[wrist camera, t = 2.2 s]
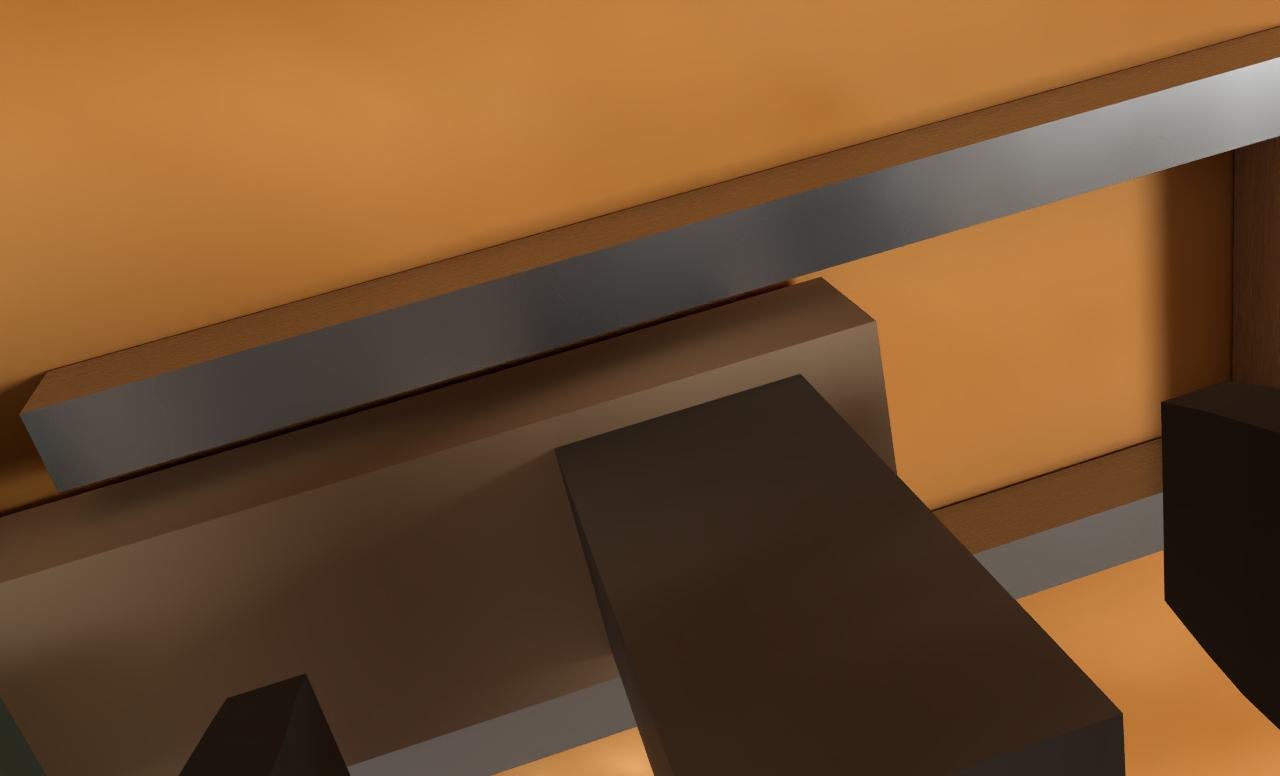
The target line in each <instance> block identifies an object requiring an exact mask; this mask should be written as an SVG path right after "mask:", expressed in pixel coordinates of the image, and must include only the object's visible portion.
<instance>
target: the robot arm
mask: <svg viewBox="0 0 1280 776" xmlns="http://www.w3.org/2000/svg"><path fill="white" fill-rule="evenodd" d="M1161 423H1162V479H1163V534H1164V589H1165V601H1166V603H1167V604H1168V605H1169V606H1170V608H1171V609H1172V610H1173V611H1174V613H1175V614H1176V615H1177V616H1178V618H1179V619H1180V620H1181V621H1182V623H1183V624H1184V625H1185V626H1186V628H1187V629H1188V630H1189V631H1190V633H1191V634H1192V635H1193V636H1194V638H1195V639H1196V640H1197V641H1198V643H1199V644H1200V645H1201V646H1202V648H1203V649H1204V650H1205V651H1206V652H1207V654H1208V655H1209V656H1210V657H1211V658H1212V659H1213V661H1214V662H1215V663H1216V664H1217V665H1218V666H1219V667H1220V669H1221V670H1222V671H1223V672H1224V673H1225V674H1226V676H1227V677H1228V678H1229V679H1230V680H1231V681H1232V682H1233V684H1234V685H1235V686H1236V687H1237V688H1238V689H1239V691H1240V692H1241V693H1242V694H1243V695H1244V696H1245V697H1246V698H1247V699H1248V700H1249V701H1250V702H1251V703H1252V704H1253V705H1254V706H1255V707H1256V708H1257V709H1258V710H1260V711H1261V712H1262V713H1263V714H1264V715H1265V716H1266V717H1267V718H1268V719H1269V720H1270V721H1271V722H1272V723H1273V724H1274V725H1275V726H1276V727H1277V728H1279V729H1280V388H1275V387H1269V386H1262V385H1255V384H1247V383H1238V382H1229V381H1226V382H1223V383H1220V384H1217V385H1214V386H1211V387H1207V388H1204V389H1201V390H1198V391H1195V392H1192V393H1189V394H1185V395H1182V396H1179V397H1176V398H1173V399H1170V400H1166V401H1163V402H1161ZM179 776H350V773H349V771H348V769H347V766H346V764H345V762H344V759H343V757H342V755H341V753H340V750H339V748H338V746H337V743H336V741H335V739H334V736H333V734H332V732H331V730H330V727H329V725H328V723H327V720H326V718H325V716H324V714H323V711H322V709H321V707H320V704H319V702H318V700H317V697H316V695H315V693H314V691H313V688H312V686H311V684H310V681H309V679H308V677H307V674H306V673H305V674H302V675H299V676H296V677H292V678H289V679H286V680H283V681H280V682H277V683H274V684H270V685H267V686H264V687H261V688H258V689H255V690H251V691H248V692H245V693H242V694H239V695H236V696H233V697H229V698H227V699H226V700H225V702H224V703H223V705H222V706H221V708H220V709H219V711H218V712H217V714H216V715H215V717H214V719H213V720H212V722H211V723H210V725H209V727H208V728H207V730H206V731H205V733H204V735H203V736H202V738H201V740H200V741H199V743H198V744H197V746H196V748H195V749H194V751H193V753H192V754H191V756H190V758H189V759H188V761H187V763H186V764H185V766H184V767H183V769H182V771H181V772H180V774H179Z"/></svg>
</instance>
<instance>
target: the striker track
mask: <svg viewBox="0 0 1280 776" xmlns="http://www.w3.org/2000/svg"><path fill="white" fill-rule="evenodd" d="M1233 149H1235V188H1234V288H1233V382H1238V383H1247V384H1255V385H1262V386H1269V387H1275V388H1280V27H1277V28H1273V29H1270V30H1266V31H1263V32H1259V33H1255V34H1252V35H1248V36H1245V37H1241V38H1238V39H1234V40H1230V41H1227V42H1223V43H1220V44H1216V45H1213V46H1209V47H1205V48H1202V49H1198V50H1195V51H1191V52H1188V53H1184V54H1180V55H1177V56H1173V57H1170V58H1166V59H1163V60H1159V61H1155V62H1152V63H1148V64H1145V65H1141V66H1138V67H1134V68H1130V69H1127V70H1123V71H1120V72H1116V73H1113V74H1109V75H1105V76H1102V77H1098V78H1095V79H1091V80H1088V81H1084V82H1080V83H1077V84H1073V85H1070V86H1066V87H1063V88H1059V89H1055V90H1052V91H1048V92H1045V93H1041V94H1037V95H1034V96H1030V97H1027V98H1023V99H1020V100H1016V101H1012V102H1009V103H1005V104H1002V105H998V106H995V107H991V108H987V109H984V110H980V111H977V112H973V113H970V114H966V115H962V116H959V117H955V118H952V119H948V120H945V121H941V122H937V123H934V124H930V125H927V126H923V127H920V128H916V129H912V130H909V131H905V132H902V133H898V134H895V135H891V136H887V137H884V138H880V139H877V140H873V141H870V142H866V143H862V144H859V145H855V146H852V147H848V148H845V149H841V150H837V151H834V152H830V153H827V154H823V155H820V156H816V157H812V158H809V159H805V160H802V161H798V162H795V163H791V164H787V165H784V166H780V167H777V168H773V169H770V170H766V171H762V172H759V173H755V174H752V175H748V176H744V177H741V178H737V179H734V180H730V181H727V182H723V183H719V184H716V185H712V186H709V187H705V188H702V189H698V190H694V191H691V192H687V193H684V194H680V195H677V196H673V197H669V198H666V199H662V200H659V201H655V202H652V203H648V204H644V205H641V206H637V207H634V208H630V209H627V210H623V211H619V212H616V213H612V214H609V215H605V216H602V217H598V218H594V219H591V220H587V221H584V222H580V223H577V224H573V225H569V226H566V227H562V228H559V229H555V230H552V231H548V232H544V233H541V234H537V235H534V236H530V237H527V238H523V239H519V240H516V241H512V242H509V243H505V244H502V245H498V246H494V247H491V248H487V249H484V250H480V251H477V252H473V253H469V254H466V255H462V256H459V257H455V258H452V259H448V260H444V261H441V262H437V263H434V264H430V265H426V266H423V267H419V268H416V269H412V270H409V271H405V272H401V273H398V274H394V275H391V276H387V277H384V278H380V279H376V280H373V281H369V282H366V283H362V284H359V285H355V286H351V287H348V288H344V289H341V290H337V291H334V292H330V293H326V294H323V295H319V296H316V297H312V298H309V299H305V300H301V301H298V302H294V303H291V304H287V305H284V306H280V307H276V308H273V309H269V310H266V311H262V312H259V313H255V314H251V315H248V316H244V317H241V318H237V319H234V320H230V321H226V322H223V323H219V324H216V325H212V326H209V327H205V328H201V329H198V330H194V331H191V332H187V333H184V334H180V335H176V336H173V337H169V338H166V339H162V340H159V341H155V342H151V343H148V344H144V345H141V346H137V347H133V348H130V349H126V350H123V351H119V352H116V353H112V354H108V355H105V356H101V357H98V358H94V359H91V360H87V361H83V362H80V363H76V364H73V365H69V366H66V367H62V368H58V369H55V370H51V371H48V372H47V373H46V374H45V376H44V377H43V379H42V380H41V382H40V384H39V385H38V387H37V388H36V390H35V391H34V393H33V394H32V396H31V397H30V399H29V400H28V402H27V403H26V405H25V406H24V408H23V409H22V411H21V412H20V414H19V415H20V417H21V419H22V421H23V423H24V425H25V427H26V429H27V431H28V433H29V435H30V437H31V439H32V441H33V443H34V445H35V447H36V448H37V450H38V452H39V454H40V456H41V458H42V460H43V462H44V464H45V466H46V468H47V470H48V472H49V474H50V476H51V478H52V480H53V482H54V484H55V486H56V488H57V490H58V492H59V493H60V492H63V491H67V490H70V489H74V488H77V487H80V486H84V485H87V484H91V483H94V482H97V481H101V480H104V479H108V478H111V477H115V476H118V475H121V474H125V473H128V472H132V471H135V470H139V469H142V468H145V467H149V466H152V465H156V464H159V463H162V462H166V461H169V460H173V459H176V458H180V457H183V456H186V455H190V454H193V453H197V452H200V451H204V450H207V449H210V448H214V447H217V446H221V445H224V444H227V443H231V442H234V441H238V440H241V439H245V438H248V437H251V436H255V435H258V434H262V433H265V432H268V431H272V430H275V429H279V428H282V427H286V426H289V425H292V424H296V423H299V422H303V421H306V420H310V419H313V418H316V417H320V416H323V415H327V414H330V413H333V412H337V411H340V410H344V409H347V408H351V407H354V406H357V405H361V404H364V403H368V402H371V401H375V400H378V399H381V398H385V397H388V396H392V395H395V394H398V393H402V392H405V391H409V390H412V389H416V388H419V387H422V386H426V385H429V384H433V383H436V382H439V381H443V380H446V379H450V378H453V377H457V376H460V375H463V374H467V373H470V372H474V371H477V370H481V369H484V368H487V367H491V366H494V365H498V364H501V363H504V362H508V361H511V360H515V359H518V358H522V357H525V356H528V355H532V354H535V353H539V352H542V351H546V350H549V349H552V348H556V347H559V346H563V345H566V344H569V343H573V342H576V341H580V340H583V339H587V338H590V337H593V336H597V335H600V334H604V333H607V332H610V331H614V330H617V329H621V328H624V327H628V326H631V325H634V324H638V323H641V322H645V321H648V320H652V319H655V318H658V317H662V316H665V315H669V314H672V313H675V312H679V311H682V310H686V309H689V308H693V307H696V306H699V305H703V304H706V303H710V302H713V301H717V300H720V299H723V298H727V297H730V296H734V295H737V294H740V293H744V292H747V291H751V290H754V289H758V288H761V287H764V286H768V285H771V284H775V283H778V282H781V281H785V280H788V279H792V278H795V277H799V276H802V275H805V274H809V273H812V272H816V271H819V270H823V269H826V268H829V267H833V266H836V265H840V264H843V263H846V262H850V261H853V260H857V259H860V258H864V257H867V256H870V255H874V254H877V253H881V252H884V251H888V250H891V249H894V248H898V247H901V246H905V245H908V244H911V243H915V242H918V241H922V240H925V239H929V238H932V237H935V236H939V235H942V234H946V233H949V232H953V231H956V230H959V229H963V228H966V227H970V226H973V225H976V224H980V223H983V222H987V221H990V220H994V219H997V218H1000V217H1004V216H1007V215H1011V214H1014V213H1017V212H1021V211H1024V210H1028V209H1031V208H1035V207H1038V206H1041V205H1045V204H1048V203H1052V202H1055V201H1059V200H1062V199H1065V198H1069V197H1072V196H1076V195H1079V194H1082V193H1086V192H1089V191H1093V190H1096V189H1100V188H1103V187H1106V186H1110V185H1113V184H1117V183H1120V182H1124V181H1127V180H1130V179H1134V178H1137V177H1141V176H1144V175H1147V174H1151V173H1154V172H1158V171H1161V170H1165V169H1168V168H1171V167H1175V166H1178V165H1182V164H1185V163H1188V162H1192V161H1195V160H1199V159H1202V158H1206V157H1209V156H1212V155H1216V154H1219V153H1223V152H1226V151H1230V150H1233ZM932 513H933V514H934V515H935V516H936V517H937V518H938V519H939V520H940V521H941V522H942V523H943V524H944V525H945V526H946V527H947V528H948V530H949V531H950V532H951V533H952V534H953V535H954V536H955V537H956V538H957V539H958V540H959V541H960V542H961V543H962V544H963V545H964V546H965V547H966V548H967V550H968V551H969V552H970V553H971V554H972V555H973V556H974V557H975V558H976V559H977V560H978V561H979V562H980V563H981V564H982V565H983V566H984V567H985V569H986V570H987V571H988V572H989V573H990V574H991V575H992V576H993V577H994V578H995V579H996V580H997V581H998V582H999V583H1000V584H1001V585H1002V586H1003V587H1004V589H1005V590H1006V591H1007V592H1008V593H1009V594H1010V595H1011V596H1012V597H1013V598H1014V599H1015V600H1016V599H1019V598H1022V597H1025V596H1028V595H1031V594H1034V593H1037V592H1039V591H1042V590H1045V589H1048V588H1051V587H1054V586H1057V585H1060V584H1063V583H1066V582H1069V581H1072V580H1075V579H1078V578H1081V577H1084V576H1087V575H1090V574H1093V573H1096V572H1099V571H1102V570H1105V569H1108V568H1111V567H1114V566H1117V565H1120V564H1123V563H1126V562H1129V561H1132V560H1135V559H1138V558H1141V557H1144V556H1147V555H1150V554H1153V553H1156V552H1159V551H1162V550H1164V534H1163V479H1162V438H1160V439H1157V440H1153V441H1150V442H1147V443H1144V444H1141V445H1138V446H1135V447H1132V448H1129V449H1126V450H1123V451H1119V452H1116V453H1113V454H1110V455H1107V456H1104V457H1101V458H1098V459H1095V460H1092V461H1088V462H1085V463H1082V464H1079V465H1076V466H1073V467H1070V468H1067V469H1064V470H1061V471H1057V472H1054V473H1051V474H1048V475H1045V476H1042V477H1039V478H1036V479H1033V480H1030V481H1026V482H1023V483H1020V484H1017V485H1014V486H1011V487H1008V488H1005V489H1002V490H999V491H995V492H992V493H989V494H986V495H983V496H980V497H977V498H974V499H971V500H968V501H964V502H961V503H958V504H955V505H952V506H949V507H946V508H943V509H940V510H937V511H933V512H932ZM634 727H637V724H636V721H635V718H634V715H633V712H632V709H631V706H630V703H629V700H628V698H627V695H626V692H625V689H624V686H623V683H622V680H621V677H619V678H616V679H613V680H610V681H606V682H603V683H600V684H597V685H594V686H591V687H588V688H585V689H582V690H579V691H576V692H573V693H570V694H567V695H564V696H561V697H558V698H555V699H552V700H549V701H546V702H543V703H540V704H537V705H534V706H531V707H528V708H525V709H522V710H518V711H515V712H512V713H509V714H506V715H503V716H500V717H497V718H494V719H491V720H488V721H485V722H482V723H479V724H476V725H473V726H470V727H467V728H464V729H461V730H458V731H455V732H452V733H449V734H446V735H443V736H440V737H437V738H434V739H430V740H427V741H424V742H421V743H418V744H415V745H412V746H409V747H406V748H403V749H400V750H397V751H394V752H391V753H388V754H385V755H382V756H379V757H376V758H373V759H370V760H367V761H364V762H361V763H358V764H355V765H352V766H349V767H347V769H348V771H349V773H350V776H491V775H494V774H497V773H500V772H503V771H506V770H509V769H512V768H515V767H518V766H521V765H524V764H527V763H530V762H533V761H536V760H539V759H542V758H545V757H548V756H551V755H554V754H557V753H560V752H563V751H565V750H568V749H571V748H574V747H577V746H580V745H583V744H586V743H589V742H592V741H595V740H598V739H601V738H604V737H607V736H610V735H613V734H616V733H619V732H622V731H625V730H628V729H631V728H634Z"/></svg>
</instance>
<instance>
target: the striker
mask: <svg viewBox="0 0 1280 776" xmlns="http://www.w3.org/2000/svg"><path fill="white" fill-rule="evenodd" d="M305 673H306V674H307V677H308V679H309V681H310V684H311V686H312V688H313V691H314V693H315V695H316V697H317V700H318V702H319V704H320V707H321V709H322V711H323V714H324V716H325V718H326V720H327V723H328V725H329V727H330V730H331V732H332V734H333V736H334V739H335V741H336V743H337V746H338V748H339V750H340V753H341V755H342V757H343V759H344V762H345V764H346V766H347V767H349V766H352V765H355V764H358V763H361V762H364V761H367V760H370V759H373V758H376V757H379V756H382V755H385V754H388V753H391V752H394V751H397V750H400V749H403V748H406V747H409V746H412V745H415V744H418V743H421V742H424V741H427V740H430V739H434V738H437V737H440V736H443V735H446V734H449V733H452V732H455V731H458V730H461V729H464V728H467V727H470V726H473V725H476V724H479V723H482V722H485V721H488V720H491V719H494V718H497V717H500V716H503V715H506V714H509V713H512V712H515V711H518V710H522V709H525V708H528V707H531V706H534V705H537V704H540V703H543V702H546V701H549V700H552V699H555V698H558V697H561V696H564V695H567V694H570V693H573V692H576V691H579V690H582V689H585V688H588V687H591V686H594V685H597V684H600V683H603V682H606V681H610V680H613V679H616V678H619V677H621V680H622V683H623V686H624V689H625V692H626V695H627V698H628V700H629V703H630V706H631V709H632V712H633V715H634V718H635V721H636V724H637V727H638V730H639V733H640V735H641V738H642V741H643V744H644V747H645V750H646V753H647V756H648V759H649V762H650V765H651V768H652V770H653V773H654V776H1125V754H1124V730H1123V713H1122V712H1121V711H1120V710H1119V709H1118V708H1117V707H1116V706H1115V705H1114V703H1113V702H1112V701H1111V700H1110V699H1109V698H1108V697H1107V696H1106V695H1105V694H1104V693H1103V692H1102V691H1101V690H1100V689H1099V688H1098V687H1097V686H1096V684H1095V683H1094V682H1093V681H1092V680H1091V679H1090V678H1089V677H1088V676H1087V675H1086V674H1085V673H1084V672H1083V671H1082V670H1081V669H1080V668H1079V667H1078V665H1077V664H1076V663H1075V662H1074V661H1073V660H1072V659H1071V658H1070V657H1069V656H1068V655H1067V654H1066V653H1065V652H1064V651H1063V650H1062V649H1061V648H1060V647H1059V645H1058V644H1057V643H1056V642H1055V641H1054V640H1053V639H1052V638H1051V637H1050V636H1049V635H1048V634H1047V633H1046V632H1045V631H1044V630H1043V629H1042V628H1041V626H1040V625H1039V624H1038V623H1037V622H1036V621H1035V620H1034V619H1033V618H1032V617H1031V616H1030V615H1029V614H1028V613H1027V612H1026V611H1025V610H1024V609H1023V608H1022V606H1021V605H1020V604H1019V603H1018V602H1017V601H1016V600H1015V599H1014V598H1013V597H1012V596H1011V595H1010V594H1009V593H1008V592H1007V591H1006V590H1005V589H1004V587H1003V586H1002V585H1001V584H1000V583H999V582H998V581H997V580H996V579H995V578H994V577H993V576H992V575H991V574H990V573H989V572H988V571H987V570H986V569H985V567H984V566H983V565H982V564H981V563H980V562H979V561H978V560H977V559H976V558H975V557H974V556H973V555H972V554H971V553H970V552H969V551H968V550H967V548H966V547H965V546H964V545H963V544H962V543H961V542H960V541H959V540H958V539H957V538H956V537H955V536H954V535H953V534H952V533H951V532H950V531H949V530H948V528H947V527H946V526H945V525H944V524H943V523H942V522H941V521H940V520H939V519H938V518H937V517H936V516H935V515H934V514H933V513H932V512H931V511H930V509H929V508H928V507H927V506H926V505H925V504H924V503H923V502H922V501H921V500H920V499H919V498H918V497H917V496H916V495H915V494H914V493H913V492H912V491H911V489H910V488H909V487H908V486H907V485H906V484H905V483H904V482H903V481H902V480H901V479H900V478H899V477H898V476H897V471H896V464H895V456H894V449H893V442H892V434H891V427H890V420H889V412H888V405H887V398H886V390H885V383H884V376H883V369H882V361H881V354H880V347H879V339H878V332H877V325H876V320H874V319H873V318H872V317H871V316H869V315H868V314H867V313H866V312H864V311H863V310H862V309H861V308H859V307H858V306H857V305H856V304H854V303H853V302H852V301H851V300H849V299H848V298H847V297H846V296H844V295H843V294H842V293H841V292H839V291H838V290H837V289H836V288H834V287H833V286H832V285H831V284H829V283H828V282H827V281H826V280H824V279H823V278H822V277H819V278H816V279H812V280H809V281H805V282H802V283H798V284H795V285H792V286H788V287H785V288H781V289H778V290H775V291H771V292H768V293H764V294H761V295H758V296H754V297H751V298H747V299H744V300H740V301H737V302H734V303H730V304H727V305H723V306H720V307H717V308H713V309H710V310H706V311H703V312H700V313H696V314H693V315H689V316H686V317H682V318H679V319H676V320H672V321H669V322H665V323H662V324H659V325H655V326H652V327H648V328H645V329H642V330H638V331H635V332H631V333H628V334H625V335H621V336H618V337H614V338H611V339H607V340H604V341H601V342H597V343H594V344H590V345H587V346H584V347H580V348H577V349H573V350H570V351H567V352H563V353H560V354H556V355H553V356H549V357H546V358H543V359H539V360H536V361H532V362H529V363H526V364H522V365H519V366H515V367H512V368H509V369H505V370H502V371H498V372H495V373H491V374H488V375H485V376H481V377H478V378H474V379H471V380H468V381H464V382H461V383H457V384H454V385H451V386H447V387H444V388H440V389H437V390H433V391H430V392H427V393H423V394H420V395H416V396H413V397H410V398H406V399H403V400H399V401H396V402H393V403H389V404H386V405H382V406H379V407H375V408H372V409H369V410H365V411H362V412H358V413H355V414H352V415H348V416H345V417H341V418H338V419H335V420H331V421H328V422H324V423H321V424H317V425H314V426H311V427H307V428H304V429H300V430H297V431H294V432H290V433H287V434H283V435H280V436H277V437H273V438H270V439H266V440H263V441H260V442H256V443H253V444H249V445H246V446H242V447H239V448H236V449H232V450H229V451H225V452H222V453H219V454H215V455H212V456H208V457H205V458H202V459H198V460H195V461H191V462H188V463H184V464H181V465H178V466H174V467H171V468H167V469H164V470H161V471H157V472H154V473H150V474H147V475H144V476H140V477H137V478H133V479H130V480H126V481H123V482H120V483H116V484H113V485H109V486H106V487H103V488H99V489H96V490H92V491H89V492H86V493H82V494H79V495H75V496H72V497H68V498H65V499H62V500H58V501H55V502H51V503H48V504H45V505H41V506H38V507H34V508H31V509H28V510H24V511H21V512H17V513H14V514H10V515H7V516H4V517H0V776H179V774H180V772H181V771H182V769H183V767H184V766H185V764H186V763H187V761H188V759H189V758H190V756H191V754H192V753H193V751H194V749H195V748H196V746H197V744H198V743H199V741H200V740H201V738H202V736H203V735H204V733H205V731H206V730H207V728H208V727H209V725H210V723H211V722H212V720H213V719H214V717H215V715H216V714H217V712H218V711H219V709H220V708H221V706H222V705H223V703H224V702H225V700H226V699H227V698H229V697H233V696H236V695H239V694H242V693H245V692H248V691H251V690H255V689H258V688H261V687H264V686H267V685H270V684H274V683H277V682H280V681H283V680H286V679H289V678H292V677H296V676H299V675H302V674H305Z"/></svg>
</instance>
